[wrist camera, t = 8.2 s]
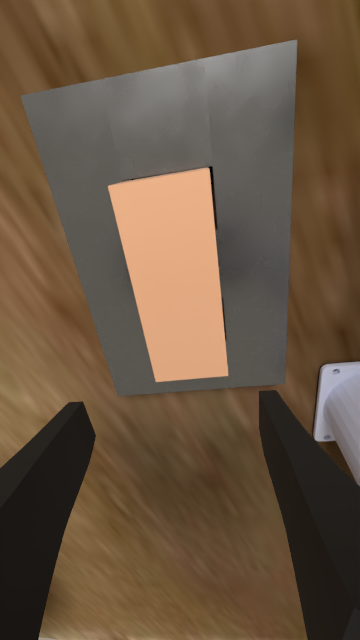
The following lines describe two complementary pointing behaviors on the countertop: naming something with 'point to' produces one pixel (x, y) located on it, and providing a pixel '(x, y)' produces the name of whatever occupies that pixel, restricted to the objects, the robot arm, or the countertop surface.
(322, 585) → the robot arm
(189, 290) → the tall peach brick
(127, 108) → the rail plate
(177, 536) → the countertop surface
